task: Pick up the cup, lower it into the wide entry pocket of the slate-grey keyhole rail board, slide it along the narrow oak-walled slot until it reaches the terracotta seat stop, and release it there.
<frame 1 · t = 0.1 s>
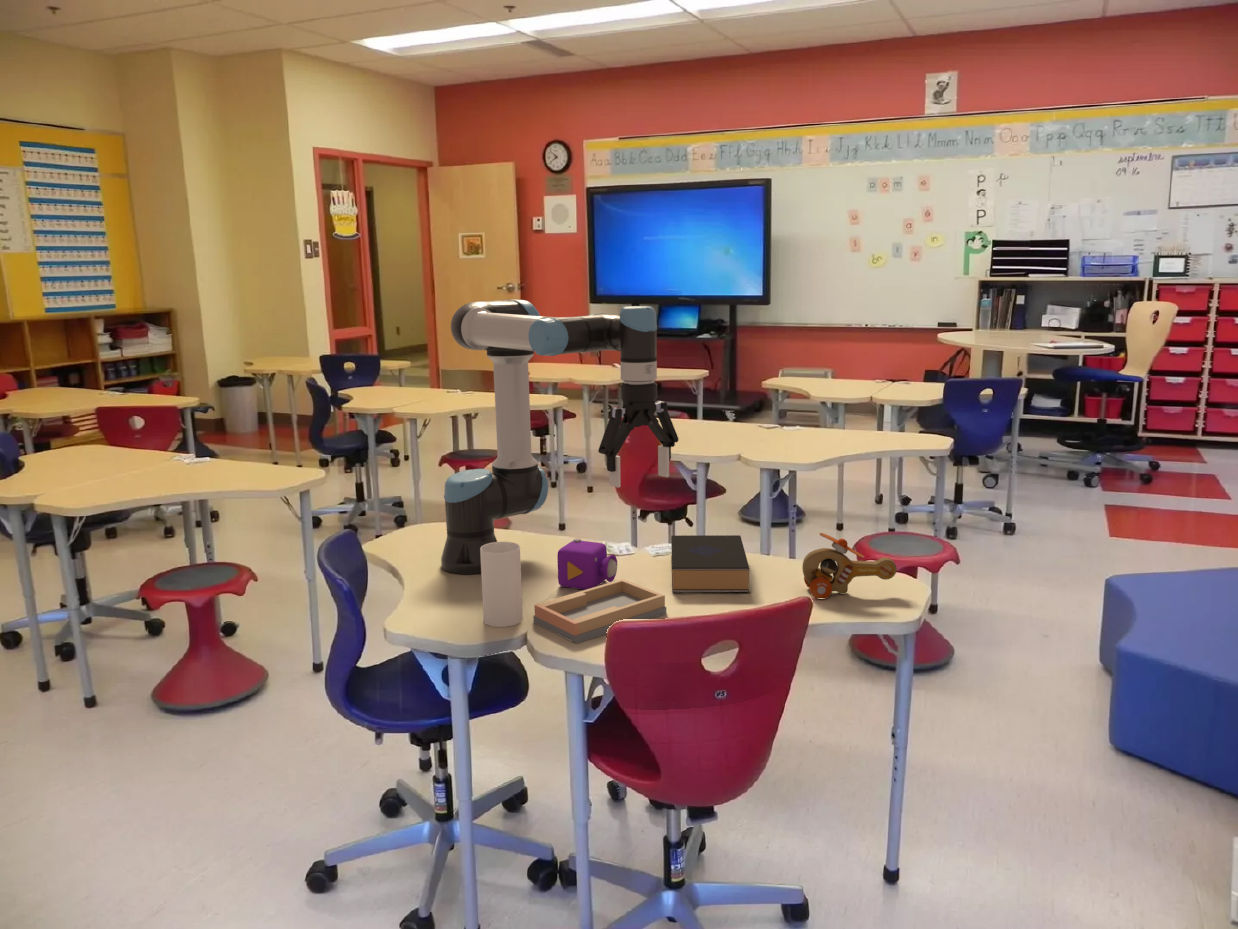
hand: (639, 481, 199), 28 cm above the table, fingers open, 13 cm apart
rail board: (600, 617, 198), on the table
toy camera: (589, 585, 219), on the table
book: (708, 577, 224), on the table
cup: (503, 620, 198), on the table
toy helicopter: (843, 594, 210), on the table
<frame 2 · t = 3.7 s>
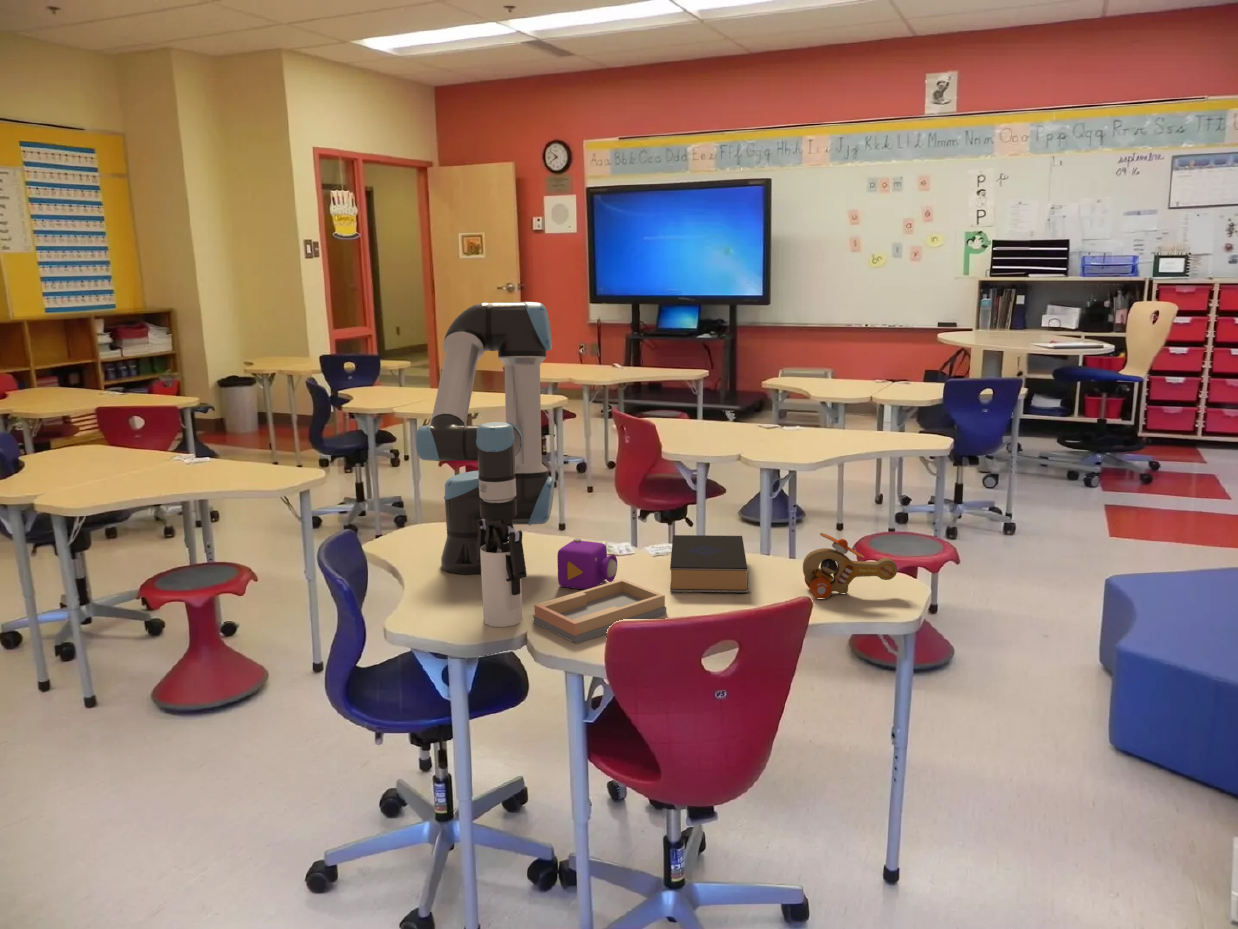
hand: (502, 602, 197), 4 cm above the table, fingers closed on cup, 8 cm apart
cup: (503, 620, 198), on the table, touching gripper
everything else where it was.
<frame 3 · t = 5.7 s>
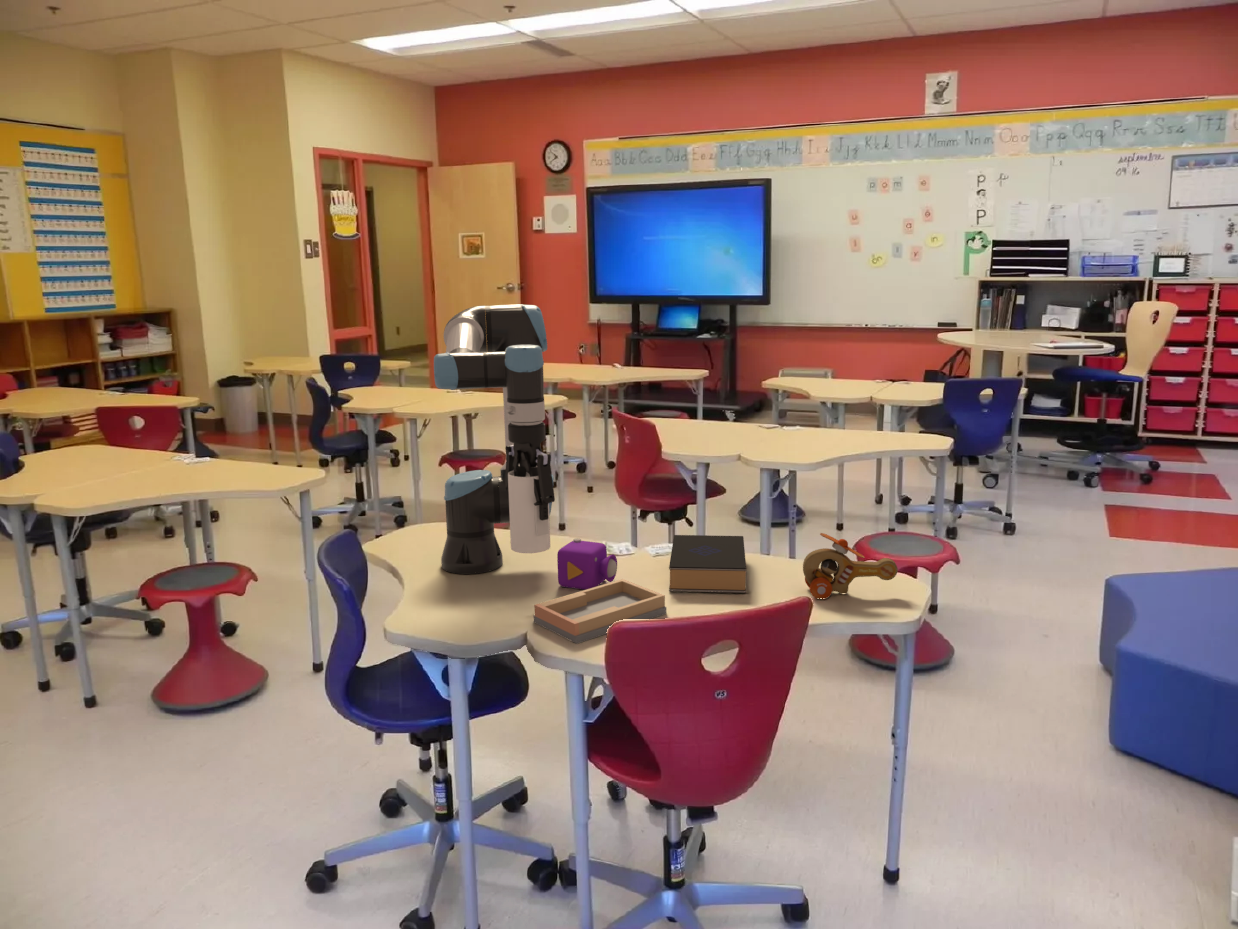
hand: (530, 529, 194), 19 cm above the table, fingers closed on cup, 8 cm apart
cup: (530, 548, 195), point 15 cm above the table, touching gripper
everything else where it was.
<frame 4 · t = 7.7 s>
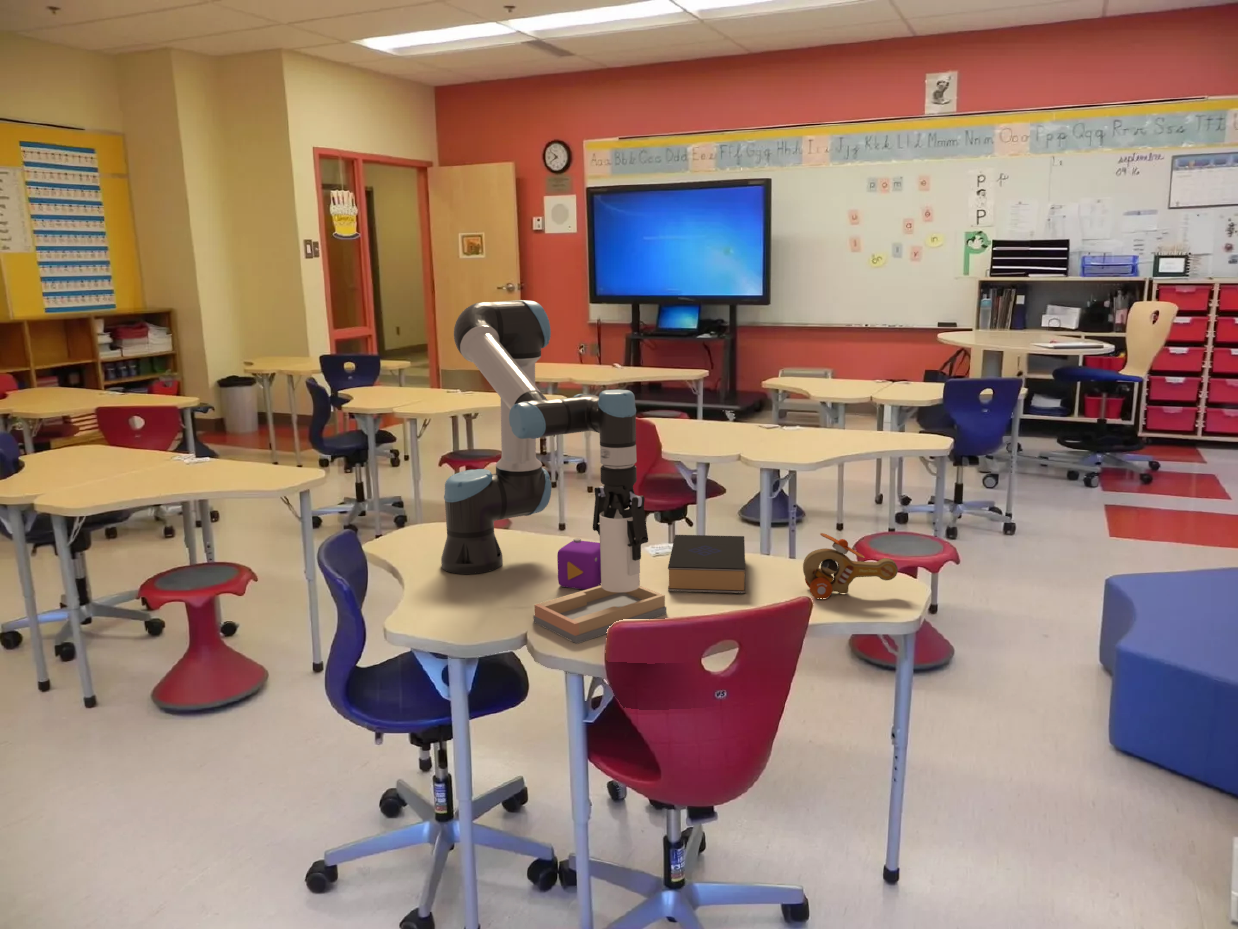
hand: (620, 569, 199), 10 cm above the table, fingers closed on cup, 8 cm apart
cup: (620, 586, 200), point 6 cm above the table, touching gripper
everything else where it was.
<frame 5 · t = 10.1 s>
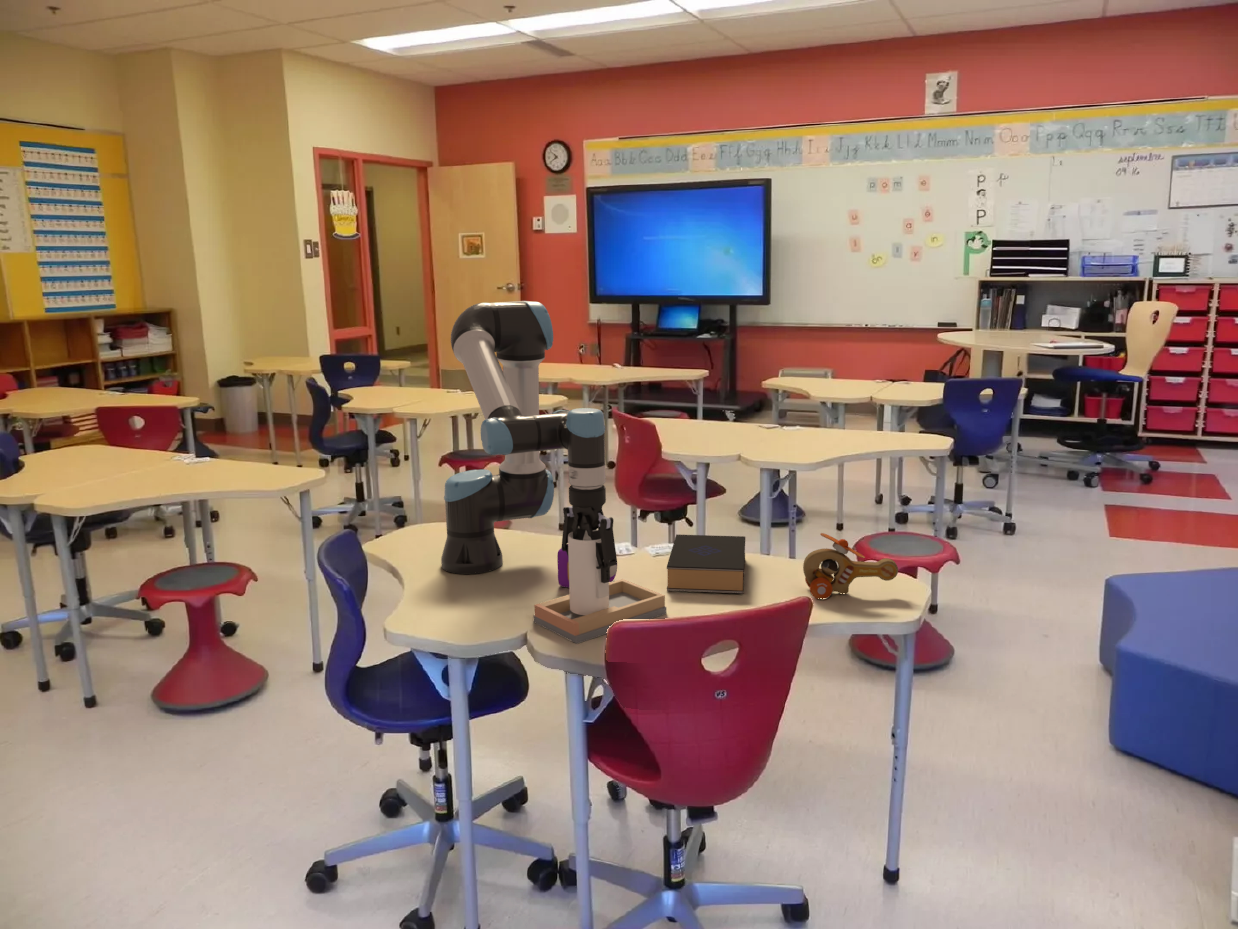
hand: (589, 590, 195), 7 cm above the table, fingers closed on cup, 8 cm apart
cup: (589, 609, 196), point 3 cm above the table, touching gripper
everything else where it was.
when the fingers open (6 cm above the table, at t = 11.9 s): cup stays where it is, resting on rail board.
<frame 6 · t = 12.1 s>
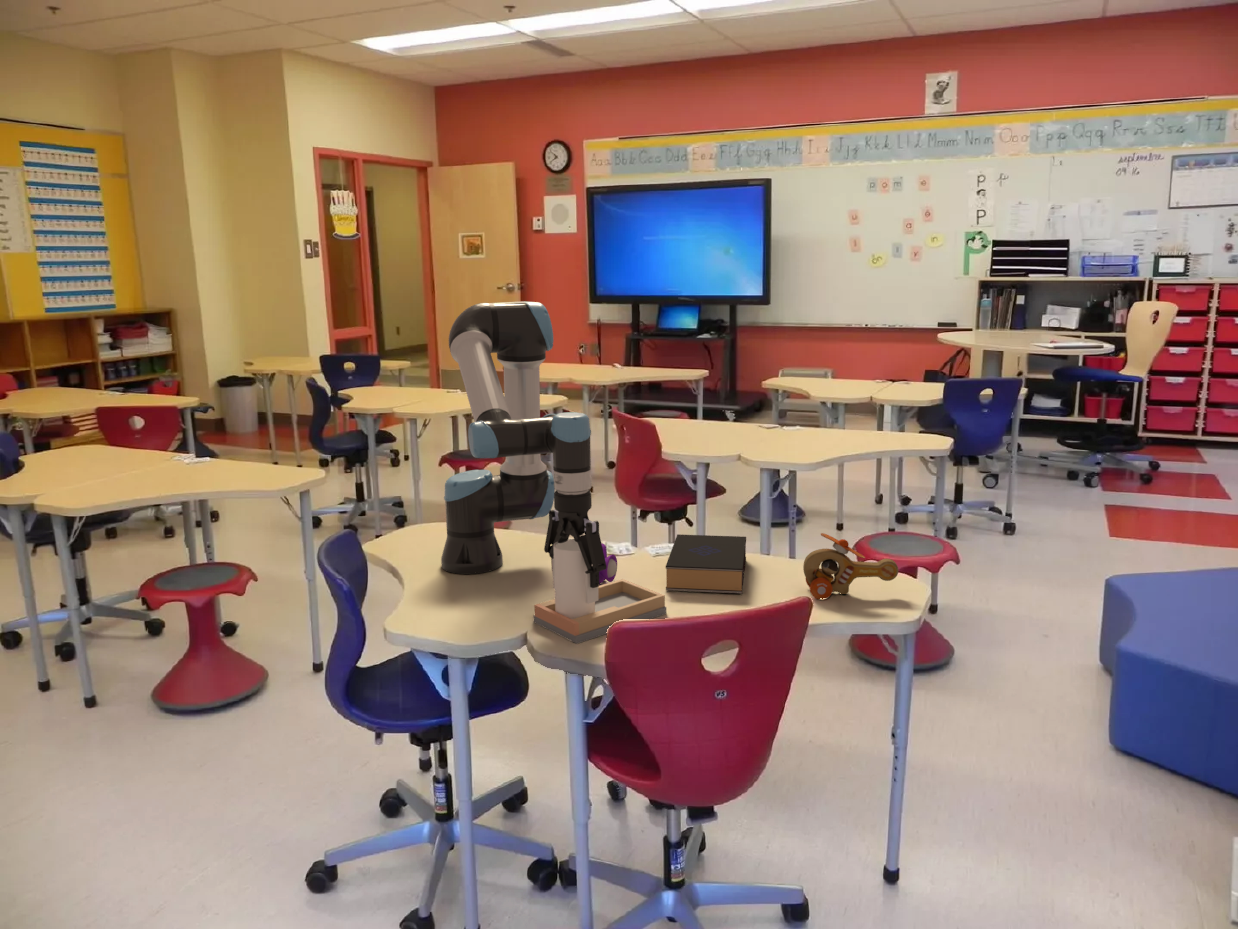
hand: (575, 594, 193), 7 cm above the table, fingers open, 10 cm apart
cup: (575, 619, 194), point 1 cm above the table, touching rail board
everything else where it was.
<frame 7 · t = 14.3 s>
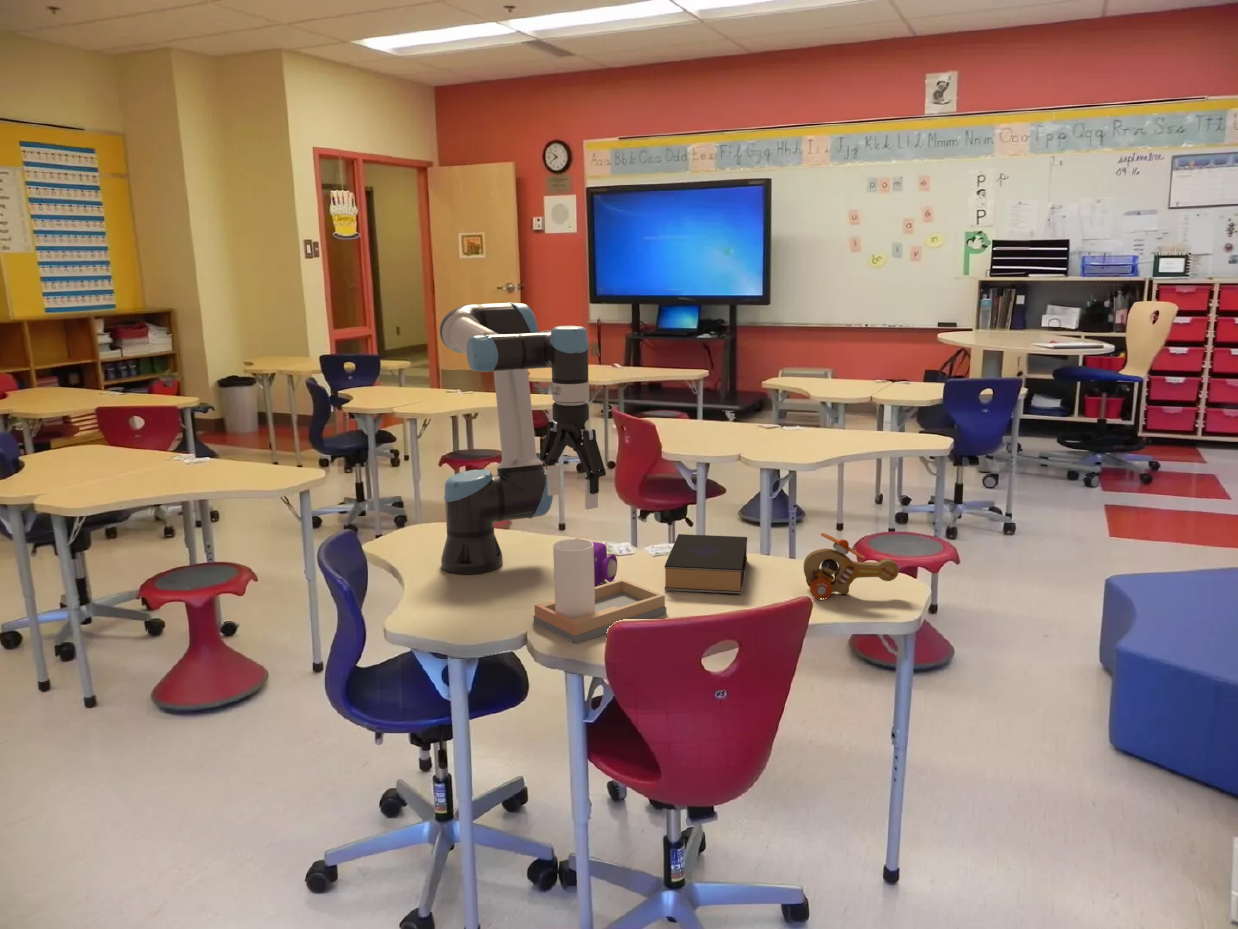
hand: (572, 501, 198), 24 cm above the table, fingers open, 13 cm apart
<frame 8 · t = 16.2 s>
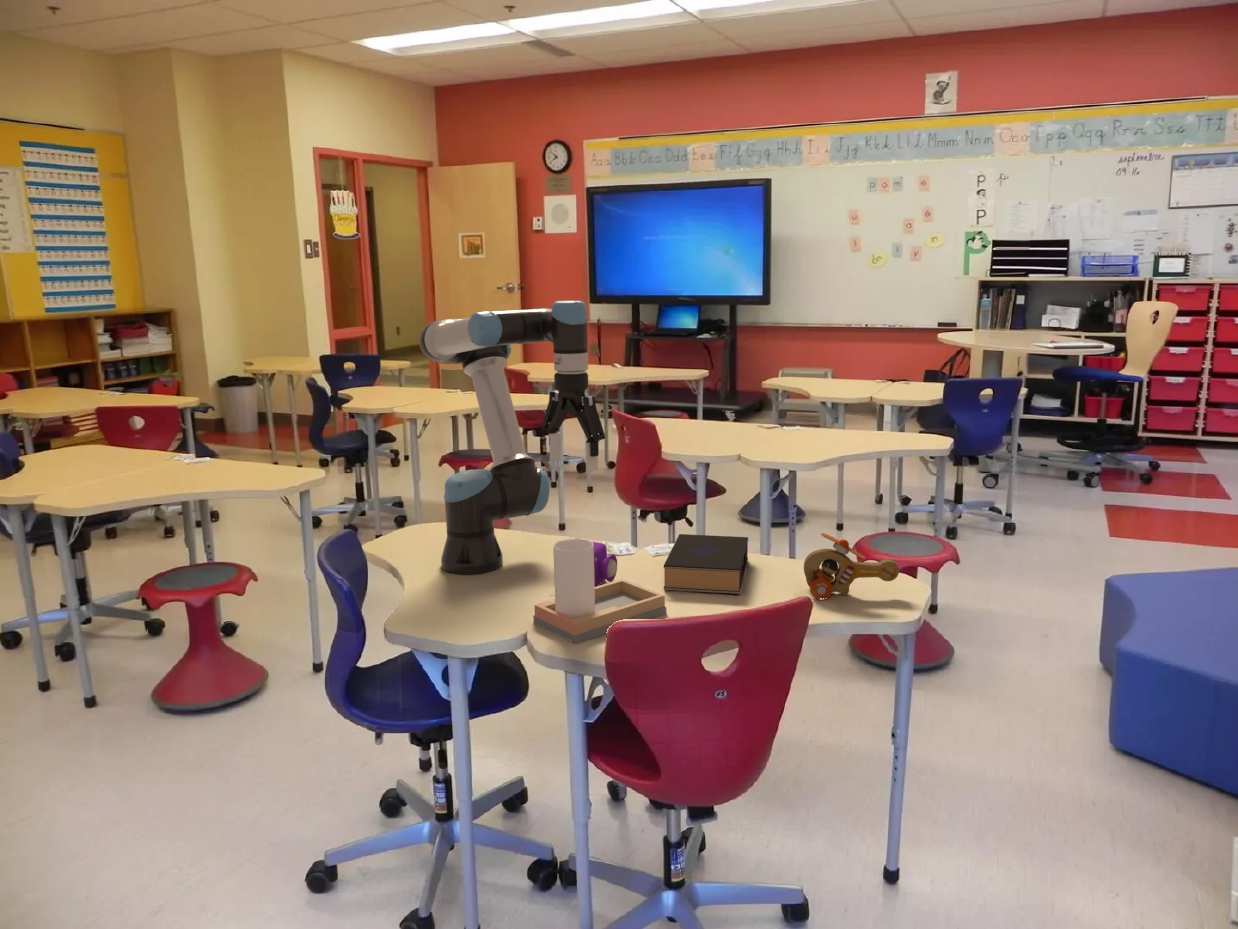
hand: (573, 465, 211), 29 cm above the table, fingers open, 13 cm apart
at the end: cup inside the target area (0.2 cm from its centre), point 1.3 cm above the table; cup tilted 0°; the gripper is holding nothing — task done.
